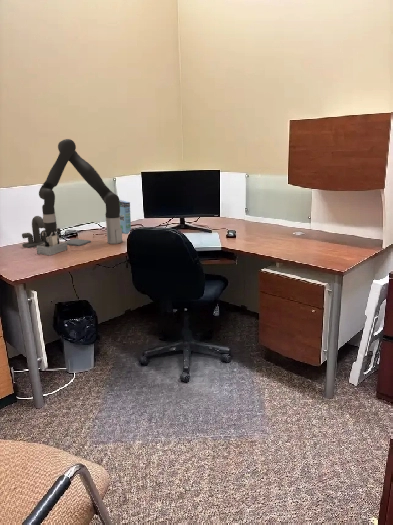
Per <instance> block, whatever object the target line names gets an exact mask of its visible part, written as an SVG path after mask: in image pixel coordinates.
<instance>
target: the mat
mask: <svg viewBox="0 0 393 525" xmlns="http://www.w3.org/2000/svg"><path fill="white" fill-rule="evenodd" d="M65 242H67V246H73V247H74V246H75V247H81V246H84V245H87V244H90V243H92V240H88V239H82V238H81V239H80V238H72V239H70V240H67V241H65Z"/></svg>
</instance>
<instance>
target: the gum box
mask: <svg viewBox="0 0 393 525" xmlns="http://www.w3.org/2000/svg"><path fill="white" fill-rule="evenodd" d="M119 200H120V228H122V234H125V235H126V234H127V235H128V234H130V233H129V231H130V230H131V231H132V220H131V202H130V201H126V200H122V199H119Z"/></svg>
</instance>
